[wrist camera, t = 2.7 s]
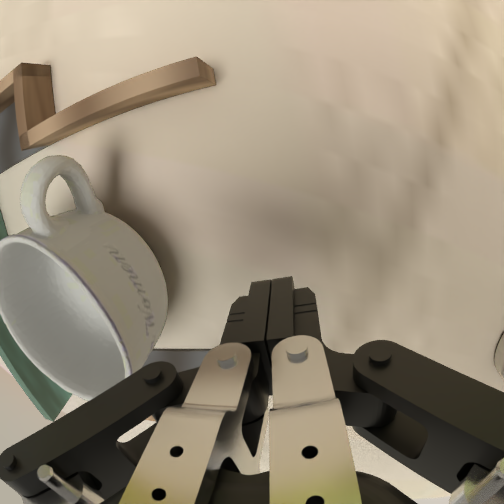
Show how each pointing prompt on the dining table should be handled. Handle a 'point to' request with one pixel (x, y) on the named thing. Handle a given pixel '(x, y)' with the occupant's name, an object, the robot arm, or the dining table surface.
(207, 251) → the dining table surface
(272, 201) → the dining table surface
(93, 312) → the teacup
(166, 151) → the dining table surface
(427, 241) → the dining table surface
